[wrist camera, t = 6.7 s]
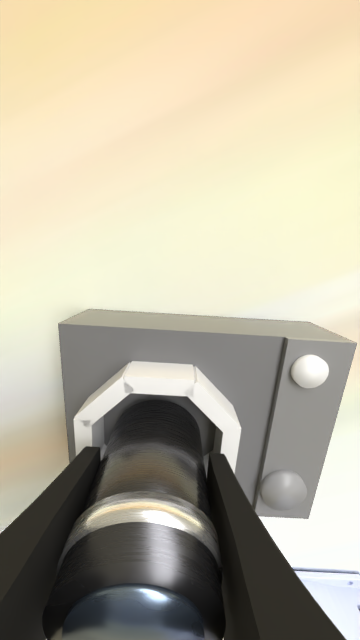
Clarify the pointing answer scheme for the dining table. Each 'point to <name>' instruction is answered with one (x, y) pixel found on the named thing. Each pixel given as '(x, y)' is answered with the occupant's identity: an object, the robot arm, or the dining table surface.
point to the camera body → (214, 391)
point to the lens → (143, 540)
